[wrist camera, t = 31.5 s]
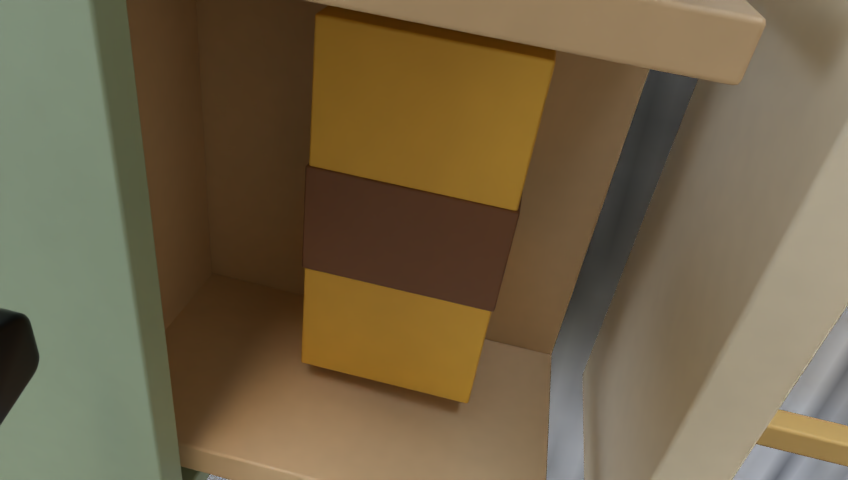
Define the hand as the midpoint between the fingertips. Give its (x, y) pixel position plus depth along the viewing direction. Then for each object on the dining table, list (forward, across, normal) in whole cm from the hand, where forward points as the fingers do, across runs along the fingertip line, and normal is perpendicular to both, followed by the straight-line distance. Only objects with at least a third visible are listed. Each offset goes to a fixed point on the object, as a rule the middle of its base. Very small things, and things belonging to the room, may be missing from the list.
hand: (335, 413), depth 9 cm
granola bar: (+8, 0, 0) cm, 8 cm away
